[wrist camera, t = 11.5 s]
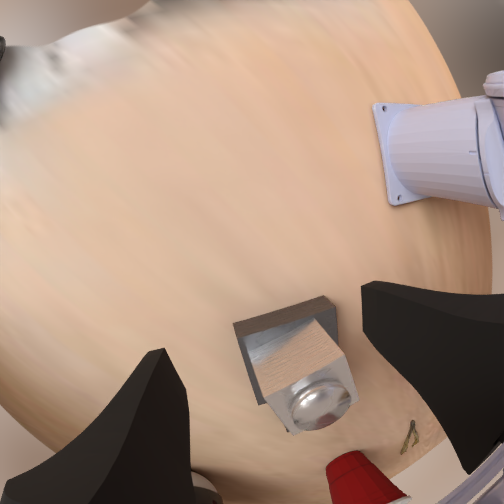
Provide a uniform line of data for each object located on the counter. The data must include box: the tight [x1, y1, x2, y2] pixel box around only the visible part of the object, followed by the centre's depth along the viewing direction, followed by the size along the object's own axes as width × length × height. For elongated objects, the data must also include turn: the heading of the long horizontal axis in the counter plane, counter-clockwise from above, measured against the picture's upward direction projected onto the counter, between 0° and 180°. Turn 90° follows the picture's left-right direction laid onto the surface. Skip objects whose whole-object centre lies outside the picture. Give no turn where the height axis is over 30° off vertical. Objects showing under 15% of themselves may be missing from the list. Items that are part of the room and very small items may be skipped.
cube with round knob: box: [248, 318, 359, 436], centre depth 16 cm, size 5×5×6 cm
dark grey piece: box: [233, 295, 338, 432], centre depth 19 cm, size 7×13×5 cm, turn 12°
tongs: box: [401, 420, 419, 455], centre depth 32 cm, size 4×13×2 cm, turn 27°
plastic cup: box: [326, 451, 412, 504], centre depth 23 cm, size 11×11×12 cm
